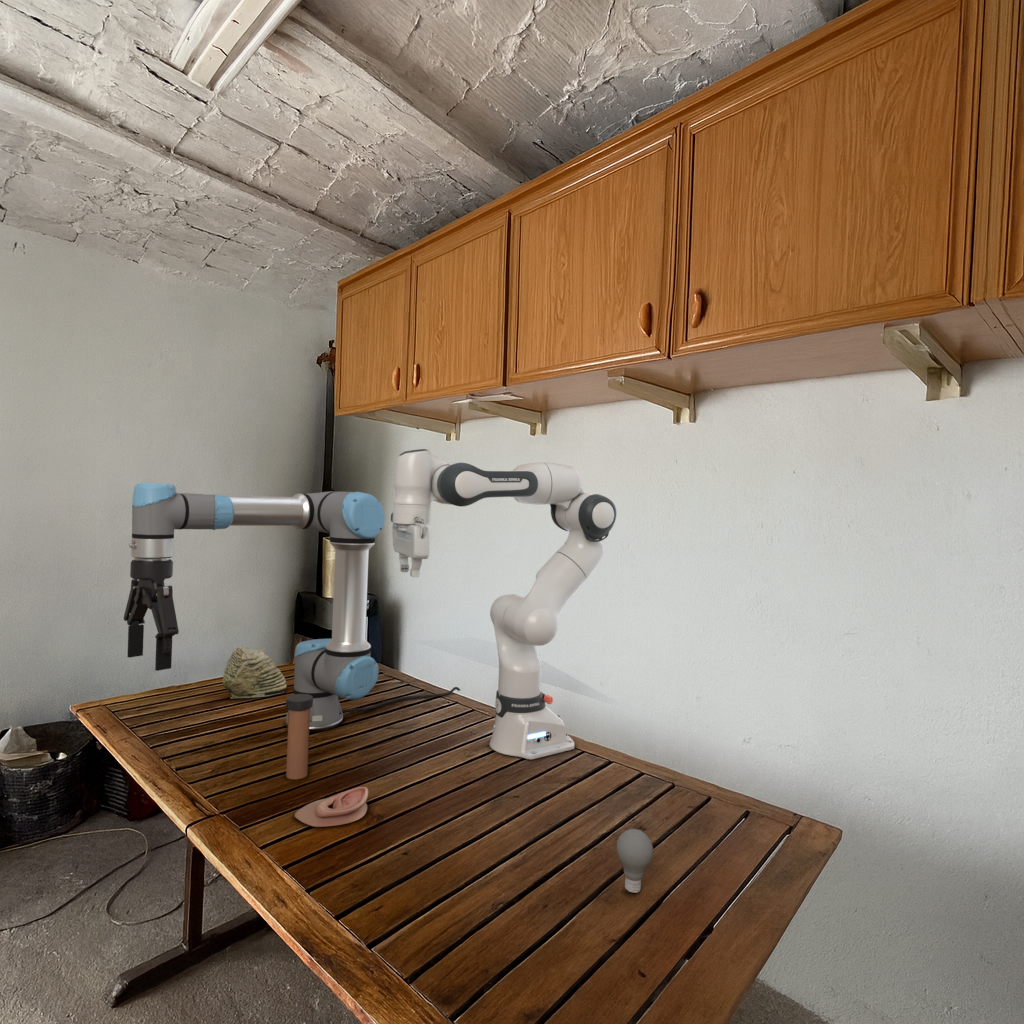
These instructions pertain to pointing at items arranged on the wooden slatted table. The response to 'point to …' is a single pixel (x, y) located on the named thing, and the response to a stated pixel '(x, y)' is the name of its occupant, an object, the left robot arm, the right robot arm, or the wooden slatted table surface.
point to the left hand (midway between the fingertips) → (148, 662)
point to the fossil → (252, 674)
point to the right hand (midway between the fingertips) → (409, 574)
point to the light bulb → (634, 857)
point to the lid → (299, 702)
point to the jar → (297, 744)
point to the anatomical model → (335, 809)
